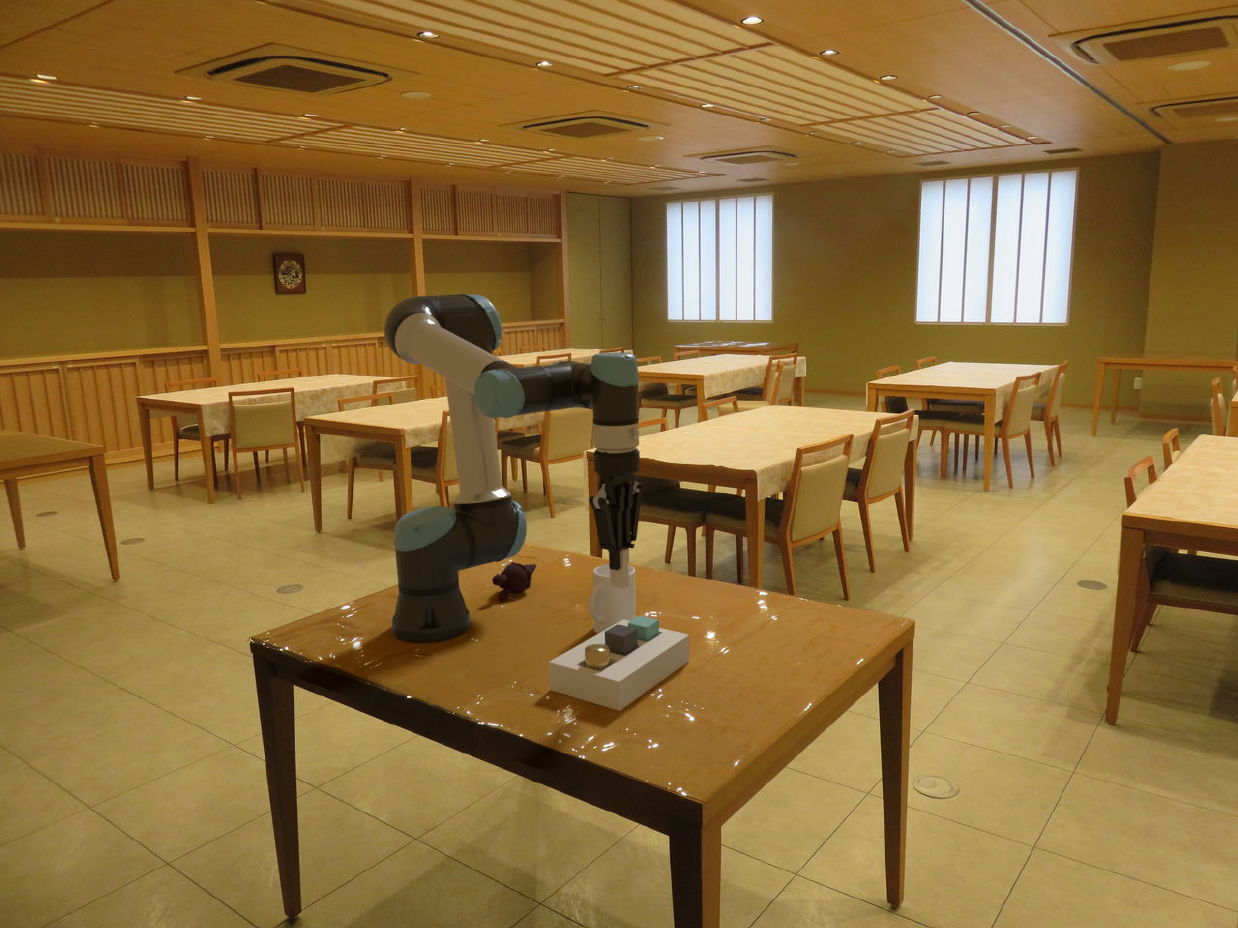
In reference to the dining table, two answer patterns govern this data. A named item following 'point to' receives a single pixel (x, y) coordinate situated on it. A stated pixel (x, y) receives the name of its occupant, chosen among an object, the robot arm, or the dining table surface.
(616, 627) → the dark grey cube
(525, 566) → the dark purple knobbly piece
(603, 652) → the gold metal cylinder
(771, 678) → the dining table surface
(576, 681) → the white slotted tray
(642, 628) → the teal cube
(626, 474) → the robot arm
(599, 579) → the mug
